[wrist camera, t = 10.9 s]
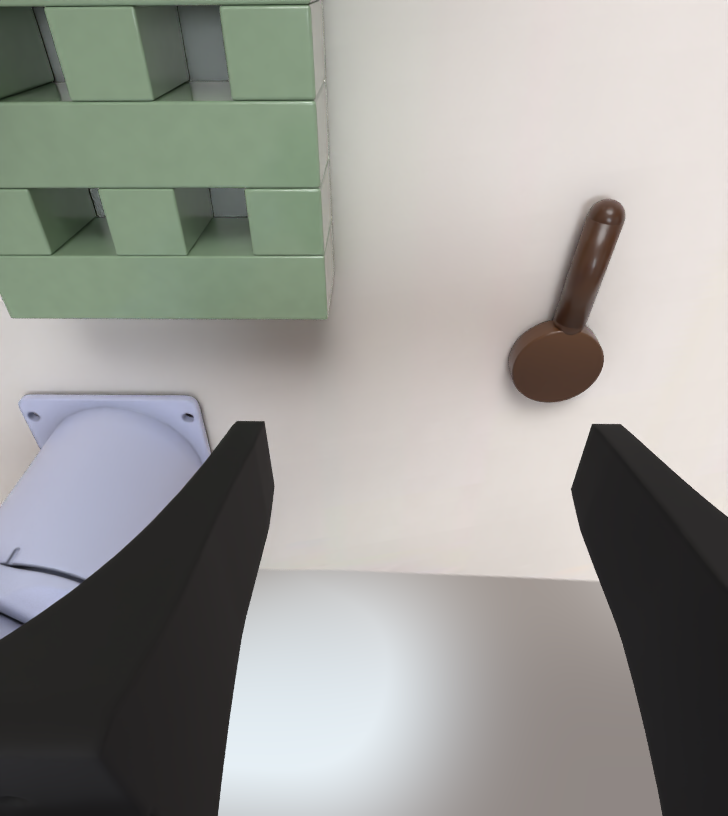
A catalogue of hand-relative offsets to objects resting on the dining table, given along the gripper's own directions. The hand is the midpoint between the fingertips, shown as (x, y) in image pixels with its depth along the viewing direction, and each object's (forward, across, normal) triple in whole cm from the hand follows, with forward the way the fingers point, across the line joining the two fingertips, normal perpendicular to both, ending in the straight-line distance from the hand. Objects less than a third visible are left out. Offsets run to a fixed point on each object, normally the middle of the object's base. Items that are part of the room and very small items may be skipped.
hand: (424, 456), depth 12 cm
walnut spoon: (+10, -7, -3) cm, 12 cm away
